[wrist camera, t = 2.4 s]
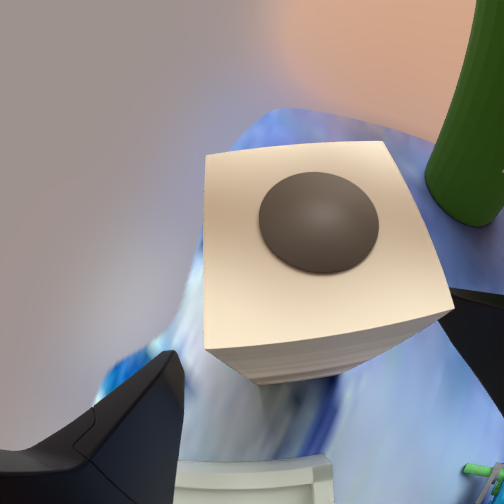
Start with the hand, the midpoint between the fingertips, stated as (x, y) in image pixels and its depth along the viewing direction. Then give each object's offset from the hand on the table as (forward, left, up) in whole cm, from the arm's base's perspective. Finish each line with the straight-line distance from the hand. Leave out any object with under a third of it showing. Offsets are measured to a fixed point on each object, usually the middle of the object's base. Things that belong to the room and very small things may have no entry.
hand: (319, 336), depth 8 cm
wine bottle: (+13, -19, -9) cm, 25 cm away
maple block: (+2, 0, -9) cm, 9 cm away
